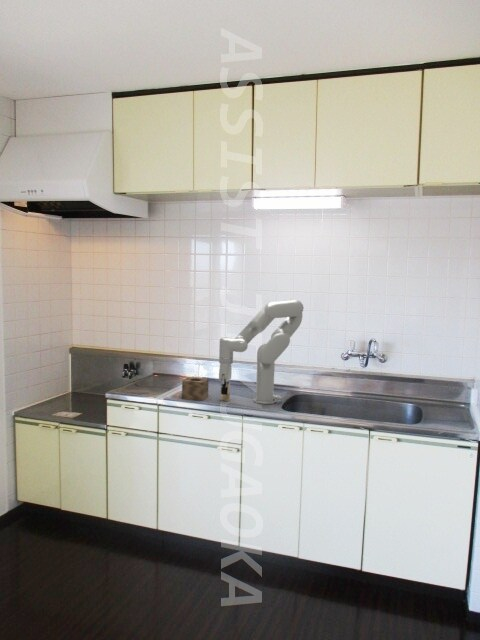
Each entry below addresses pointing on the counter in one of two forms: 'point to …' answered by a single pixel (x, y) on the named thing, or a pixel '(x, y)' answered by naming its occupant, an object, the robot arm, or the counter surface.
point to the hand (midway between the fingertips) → (225, 393)
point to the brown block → (195, 388)
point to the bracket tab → (227, 397)
